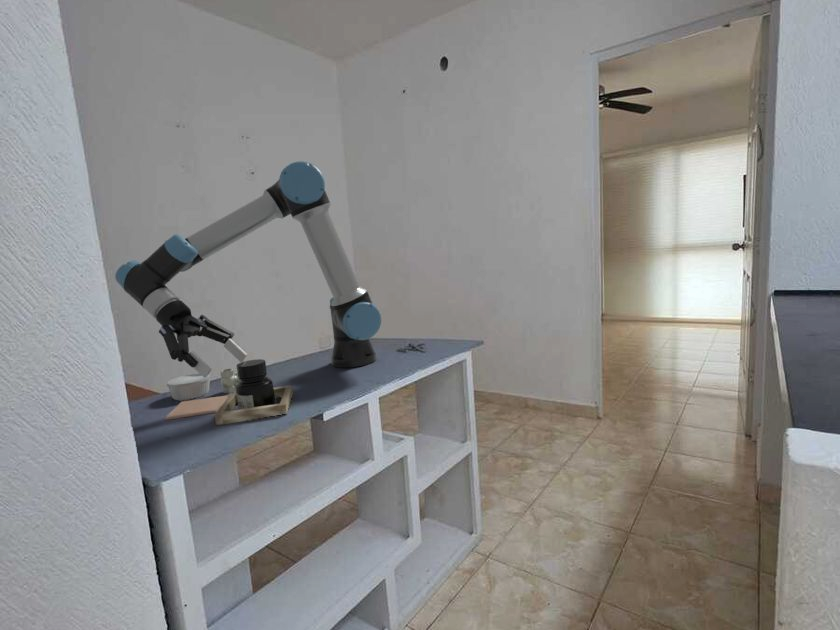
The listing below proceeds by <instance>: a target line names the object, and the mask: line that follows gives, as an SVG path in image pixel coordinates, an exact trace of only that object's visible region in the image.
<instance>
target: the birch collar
mask: <svg viewBox="0 0 840 630" xmlns="http://www.w3.org/2000/svg"><path fill="white" fill-rule="evenodd" d="M274 394H275V397H280V396H282V397H280V398H281V400H280V402H279V403H276V404H273V405H267V406H260V407H253V408H246V409H239V408H238V409H234V408H235V407H236V406H237V404H236V403H238V401H237V395H236V392H233V393H229V394H228V398H227V399H226V400H225V402H224V403H223V404H222V406H221V407H220V408H219V410H218V411H217V412H216V413H215V414H214V419H215V426H220V425H221V426H222V425H228V424H235V423H241V422H247V420H248V421H253V420H252V419H255V420H259V419H258V418H261V419H264V418H263V417H268V418H270V417H269V416H275V415H280V414H286V413H287V411H288V412H289V410H288V408H290V406H291V403H290V402H292V400H291V398H292V399H293V396H294V391H293V385H292V384H290V385H285V386H284V385H283V386H278V387H277V386H276V387H274ZM292 395H293V396H292ZM289 405H290V406H289ZM287 414H288V413H287ZM275 417H276V416H275Z"/></svg>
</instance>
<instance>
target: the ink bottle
mask: <svg viewBox="0 0 840 630" xmlns="http://www.w3.org/2000/svg"><path fill="white" fill-rule="evenodd" d="M267 369H268V368H267V363H266V359H263V358H262V359H250V360H245V361H244V360H243V362H239V363H237V364H236V372H237V373H236V374H238V377H239V380H241V381H240V382H239V383H236V392H235V393H236V395H237V401H238V404H237V406H238V407H237V408H238V410H239V409H246V408H253V407H260V406H267V405H273V404H277V402H276V398H275V394H274V388H275V387H274V382H273V380H272V379H271V378H269V377H268V376H267V375H268V370H267Z"/></svg>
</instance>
